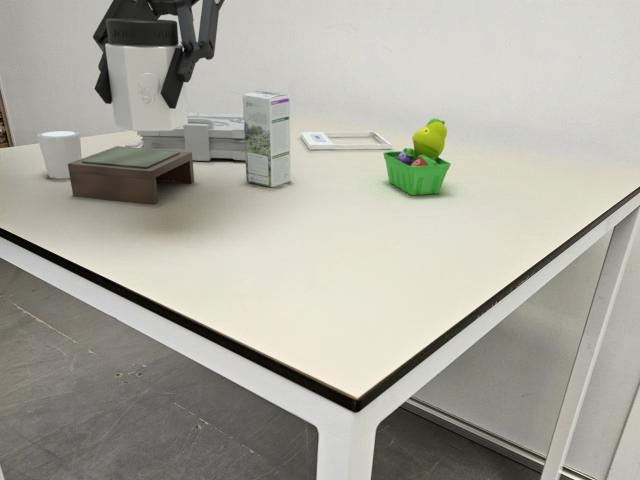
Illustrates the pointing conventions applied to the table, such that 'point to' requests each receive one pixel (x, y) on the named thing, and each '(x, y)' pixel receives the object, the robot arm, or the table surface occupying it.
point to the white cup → (59, 151)
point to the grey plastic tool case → (201, 137)
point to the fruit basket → (420, 161)
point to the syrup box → (267, 138)
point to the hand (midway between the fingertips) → (135, 98)
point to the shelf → (129, 173)
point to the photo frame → (323, 142)
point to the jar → (143, 74)
